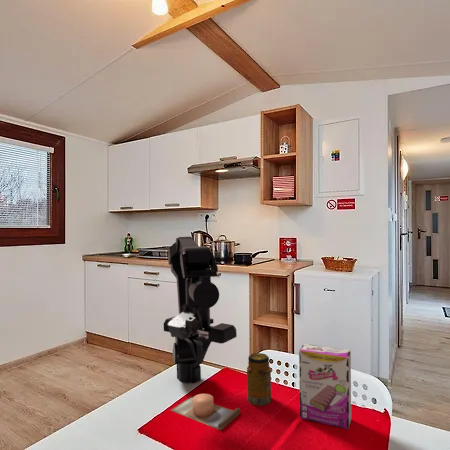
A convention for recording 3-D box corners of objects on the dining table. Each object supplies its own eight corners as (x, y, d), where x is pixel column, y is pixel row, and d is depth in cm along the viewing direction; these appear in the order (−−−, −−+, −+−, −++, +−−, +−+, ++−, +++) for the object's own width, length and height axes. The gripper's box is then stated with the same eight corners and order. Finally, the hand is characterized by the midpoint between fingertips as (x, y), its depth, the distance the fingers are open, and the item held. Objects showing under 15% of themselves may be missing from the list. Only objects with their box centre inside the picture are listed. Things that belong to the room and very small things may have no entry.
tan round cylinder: (188, 412, 83) (188, 400, 83) (201, 403, 87) (201, 391, 87) (205, 419, 80) (204, 406, 80) (217, 409, 84) (217, 397, 84)
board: (170, 413, 84) (170, 405, 84) (191, 399, 91) (191, 391, 91) (220, 433, 76) (220, 424, 76) (240, 416, 82) (239, 408, 82)
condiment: (259, 393, 93) (258, 349, 93) (283, 406, 87) (282, 358, 87) (239, 403, 89) (238, 356, 88) (263, 417, 82) (262, 366, 82)
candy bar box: (299, 420, 80) (297, 349, 80) (303, 409, 85) (302, 342, 85) (350, 431, 76) (348, 356, 76) (352, 419, 80) (350, 349, 80)
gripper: (146, 301, 83) (147, 366, 83) (207, 311, 72) (209, 386, 72) (178, 293, 92) (179, 352, 92) (237, 300, 81) (238, 367, 81)
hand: (199, 363), depth 84 cm, fingers closed
